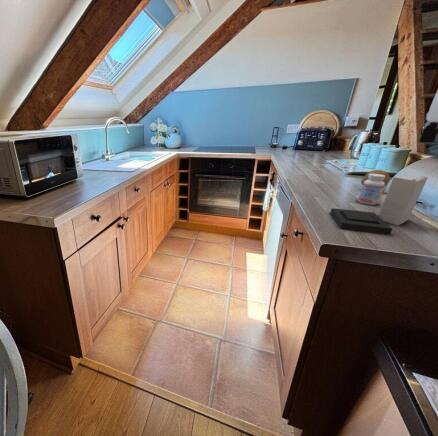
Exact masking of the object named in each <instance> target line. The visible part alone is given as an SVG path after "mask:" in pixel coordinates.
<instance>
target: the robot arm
mask: <svg viewBox="0 0 438 436" xmlns="http://www.w3.org/2000/svg"><path fill="white" fill-rule="evenodd" d="M422 127H423V128H422V131H421V135H420V137H419V140H418V143H423V144H424V143H434V142H435V140H436V137H437V135H438V90H436V93H435V95H434V97H433V100H432V102H431V105H430V107H429V109H428V112H426V114H425V120H424V125H423V126H422Z"/></svg>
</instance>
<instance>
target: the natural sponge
mask: <svg viewBox="0 0 438 436" xmlns="http://www.w3.org/2000/svg"><path fill="white" fill-rule="evenodd" d="M369 174H381V175H385V179H384V180H383V182H384V183H385V185H384V188H385V187H386V186H387V185H388V183H389V182H390V180H391V176H390V174H389V173H388V172H387V171H385V170H382V169H374V170H370V171H368V172H367V173H366V174H365V175H364V176H363V177H362V178H361V181H360V183H361V185H362V186H363V184H364V182H365V181H366V180H368V179H369V178H368V176H369Z"/></svg>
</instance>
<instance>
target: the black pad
mask: <svg viewBox="0 0 438 436" xmlns="http://www.w3.org/2000/svg"><path fill="white" fill-rule="evenodd" d="M342 215H343V217H344V218H345V219H346V220H349V221H357V222H365V223H374V224H376V223H377V221H376V220H375V219H374V218H373V217H372V216H371V215H370V214H367V213H357V212H348V211H343V213H342Z"/></svg>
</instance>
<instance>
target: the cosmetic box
mask: <svg viewBox="0 0 438 436" xmlns="http://www.w3.org/2000/svg"><path fill="white" fill-rule="evenodd" d="M428 179H429V177H428V176H425V175H418V174H411V173H401V174H398V175H396V176H393V177H392V180H391V182H390V186H389V188H388V189H387V192H386V195H385V197H384V200H383V202H382V205H381V207H380V209H379V212H378V214H377V216H378V217H380V218H381V219H382V220H383V221H384V222H385V223H387V224H391V225H396V226H400V225H402V224H403V223H405V222H407V221H409V219H410V218H411V216H412V213H413V211H414V208H415V207H416V205H417V202H418V200H419V198H420V196H421V193H422V191H423V189H424V187H425V184H426V182H427V180H428Z"/></svg>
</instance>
